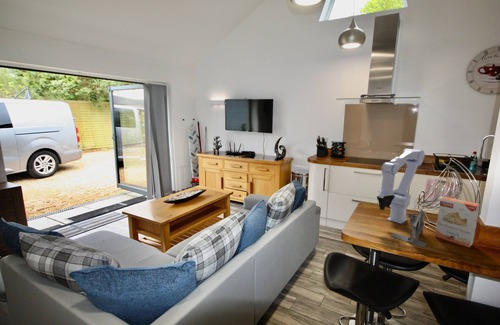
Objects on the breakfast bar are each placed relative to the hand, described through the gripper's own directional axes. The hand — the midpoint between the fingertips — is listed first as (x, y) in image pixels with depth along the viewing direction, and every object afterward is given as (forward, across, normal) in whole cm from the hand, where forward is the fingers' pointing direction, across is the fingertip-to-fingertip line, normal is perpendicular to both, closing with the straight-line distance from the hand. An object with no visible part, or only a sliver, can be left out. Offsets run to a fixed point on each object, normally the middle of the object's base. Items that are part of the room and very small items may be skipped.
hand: (384, 208), depth 140 cm
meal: (+10, +2, +16) cm, 19 cm away
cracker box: (+10, -9, +30) cm, 33 cm away
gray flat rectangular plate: (+11, +7, +15) cm, 20 cm away
